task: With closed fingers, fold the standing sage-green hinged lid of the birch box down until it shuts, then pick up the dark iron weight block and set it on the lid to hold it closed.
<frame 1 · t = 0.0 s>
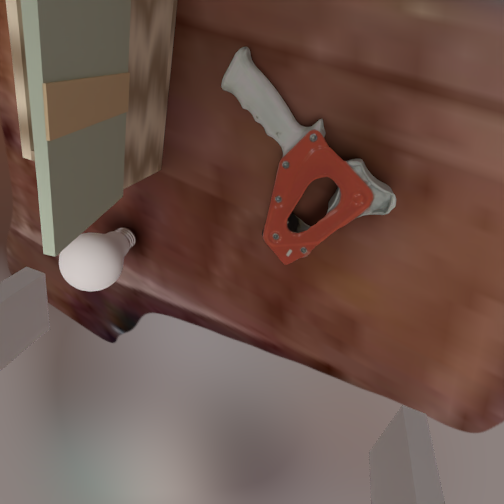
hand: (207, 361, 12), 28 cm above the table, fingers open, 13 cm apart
tape dispenser: (307, 160, 37), on the table
light bulb: (130, 233, 46), on the table
box: (121, 72, 37), on the table
lid: (89, 99, 24), point 14 cm above the table, hinge at 100.0°
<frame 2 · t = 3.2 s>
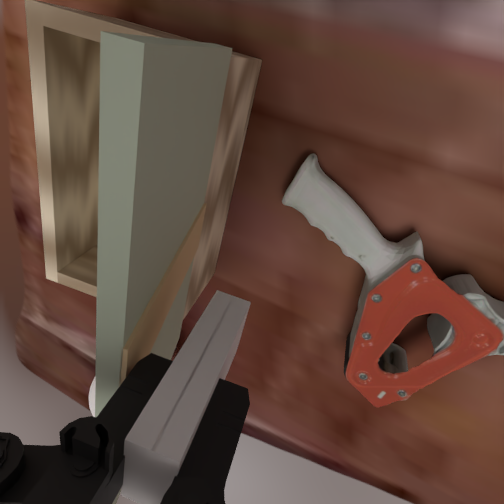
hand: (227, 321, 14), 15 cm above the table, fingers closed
tape dispenser: (392, 272, 29), on the table
box: (171, 163, 29), on the table
lid: (165, 277, 16), point 14 cm above the table, hinge at 99.3°, touching gripper
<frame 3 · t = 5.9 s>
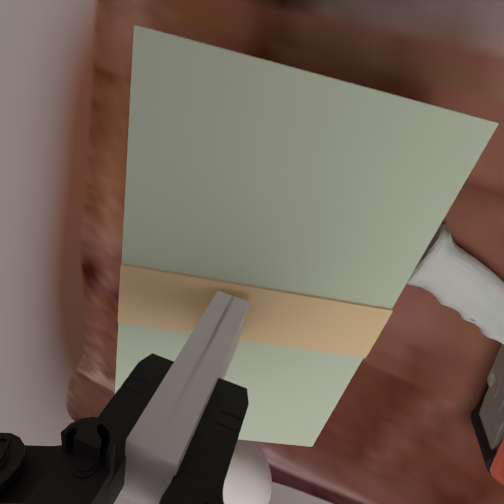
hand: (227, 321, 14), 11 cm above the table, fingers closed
light bulb: (252, 399, 34), on the table
lid: (255, 309, 15), point 10 cm above the table, hinge at 16.1°, touching gripper
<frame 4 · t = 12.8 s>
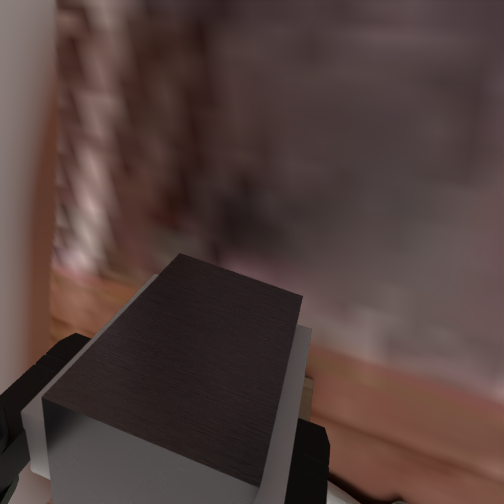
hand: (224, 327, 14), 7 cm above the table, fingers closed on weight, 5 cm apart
box: (215, 430, 29), on the table
weight: (227, 322, 15), point 7 cm above the table, touching gripper
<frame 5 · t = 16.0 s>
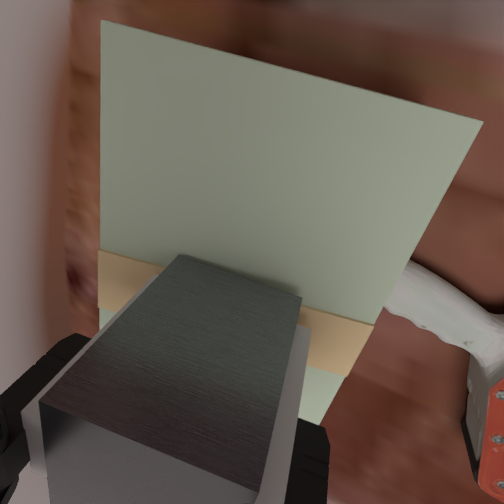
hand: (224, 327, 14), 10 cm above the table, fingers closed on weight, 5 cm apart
weight: (226, 324, 14), point 10 cm above the table, touching gripper
lid: (230, 309, 15), point 9 cm above the table, hinge at 6.3°, touching gripper
when the fingers open (10 cm above the table, at t = 16.4 s): weight stays where it is, resting on lid.
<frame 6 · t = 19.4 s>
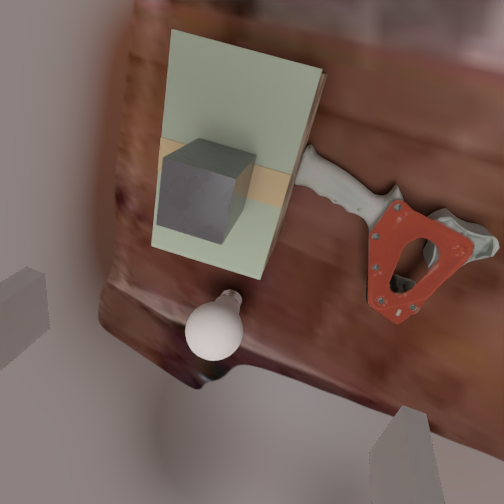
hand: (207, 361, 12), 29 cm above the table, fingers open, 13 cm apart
tape dispenser: (389, 220, 38), on the table
light bulb: (234, 293, 47), on the table
box: (251, 151, 38), on the table
weight: (222, 175, 30), point 9 cm above the table, touching lid
lid: (223, 171, 30), point 9 cm above the table, hinge at 2.9°, touching weight
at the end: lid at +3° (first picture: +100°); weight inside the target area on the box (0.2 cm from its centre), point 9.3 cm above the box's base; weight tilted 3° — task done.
